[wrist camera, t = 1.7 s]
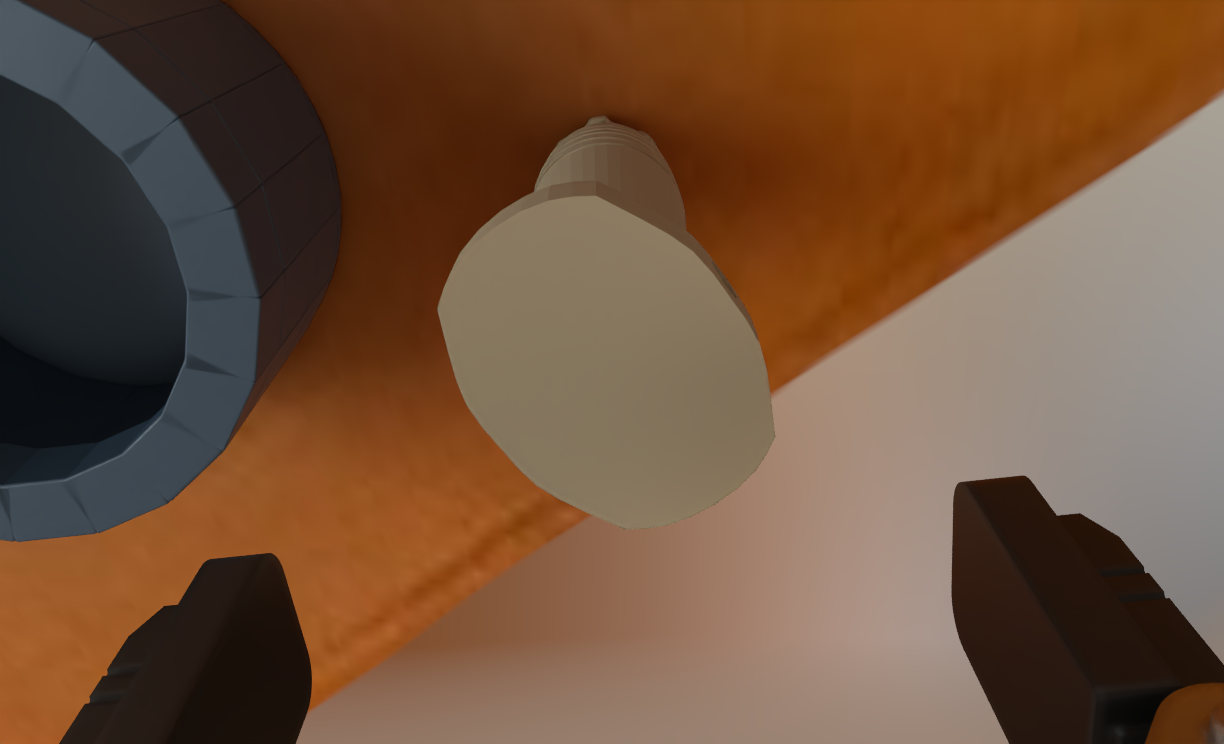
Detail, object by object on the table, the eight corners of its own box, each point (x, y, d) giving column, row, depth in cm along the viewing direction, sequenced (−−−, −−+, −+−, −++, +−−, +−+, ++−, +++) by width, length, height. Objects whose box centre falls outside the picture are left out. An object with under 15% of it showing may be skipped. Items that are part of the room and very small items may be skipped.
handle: (604, 292, 33) (606, 569, 19) (477, 127, 31) (379, 309, 17) (731, 205, 32) (829, 435, 18) (608, 28, 30) (616, 139, 16)
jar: (-205, -19, 29) (-500, 10, 21) (279, -82, 28) (157, -76, 21) (-22, 417, 35) (-202, 566, 27) (383, 372, 34) (319, 510, 26)
